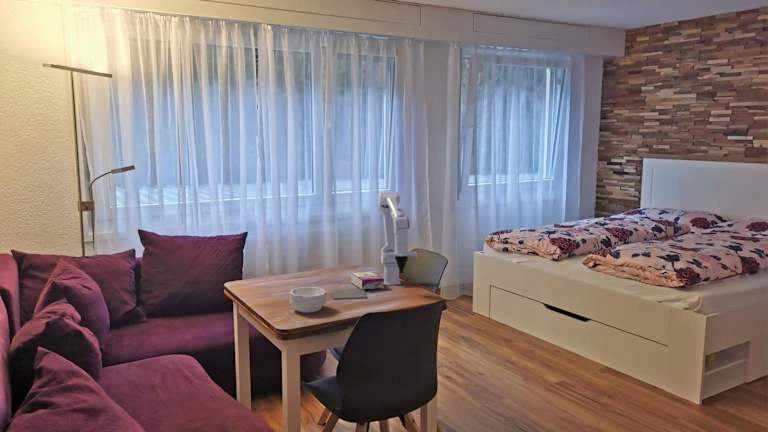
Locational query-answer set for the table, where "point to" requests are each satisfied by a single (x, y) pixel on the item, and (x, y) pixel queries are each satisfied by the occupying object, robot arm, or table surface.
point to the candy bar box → (367, 280)
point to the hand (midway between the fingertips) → (401, 272)
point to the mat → (349, 294)
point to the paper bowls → (308, 299)
